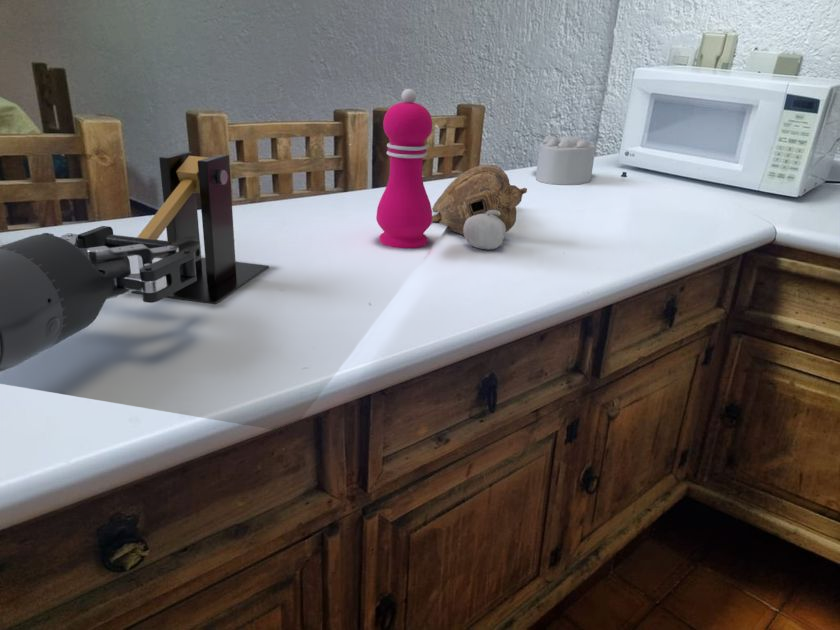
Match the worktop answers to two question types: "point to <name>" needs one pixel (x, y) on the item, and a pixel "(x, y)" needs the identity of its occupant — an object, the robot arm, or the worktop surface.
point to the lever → (164, 209)
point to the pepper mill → (405, 176)
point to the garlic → (484, 230)
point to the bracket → (207, 229)
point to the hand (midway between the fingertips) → (152, 241)
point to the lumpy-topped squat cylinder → (565, 161)
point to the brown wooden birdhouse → (478, 198)
